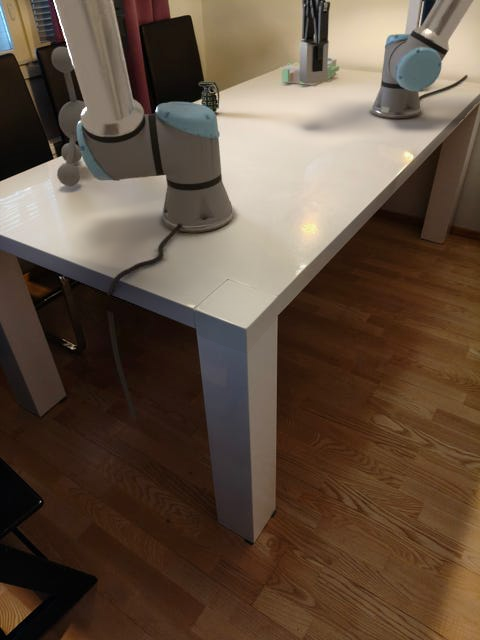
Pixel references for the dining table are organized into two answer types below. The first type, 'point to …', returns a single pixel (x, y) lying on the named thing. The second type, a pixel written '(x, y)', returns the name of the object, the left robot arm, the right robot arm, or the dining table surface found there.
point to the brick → (311, 63)
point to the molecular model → (68, 120)
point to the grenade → (210, 95)
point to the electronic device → (417, 14)
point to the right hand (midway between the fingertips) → (313, 69)
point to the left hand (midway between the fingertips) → (120, 48)
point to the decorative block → (293, 70)
